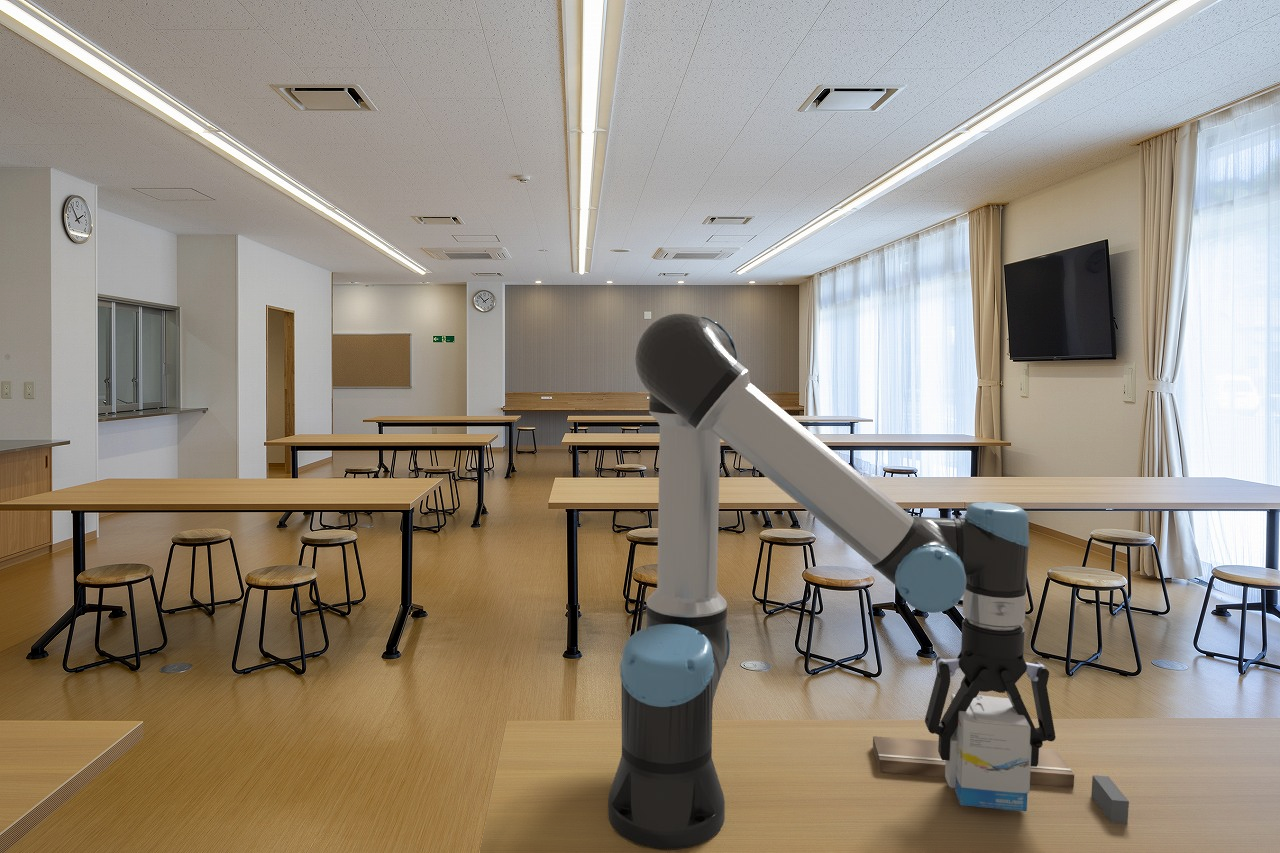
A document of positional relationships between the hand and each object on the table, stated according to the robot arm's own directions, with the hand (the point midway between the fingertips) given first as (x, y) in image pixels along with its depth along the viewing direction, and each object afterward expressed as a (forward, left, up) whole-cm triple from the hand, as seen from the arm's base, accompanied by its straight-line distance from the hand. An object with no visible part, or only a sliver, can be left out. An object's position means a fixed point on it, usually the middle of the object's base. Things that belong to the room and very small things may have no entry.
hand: (986, 784), depth 106 cm
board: (0, +9, -2) cm, 9 cm away
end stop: (+15, 0, -2) cm, 16 cm away
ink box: (0, 0, -1) cm, 1 cm away
